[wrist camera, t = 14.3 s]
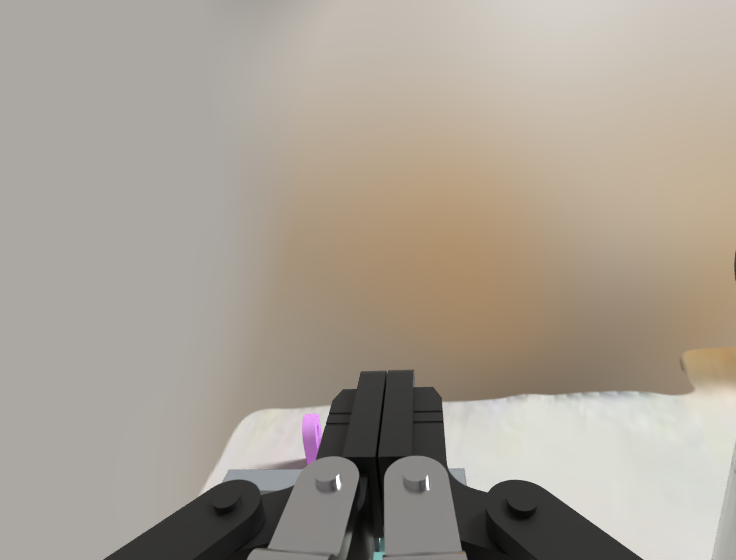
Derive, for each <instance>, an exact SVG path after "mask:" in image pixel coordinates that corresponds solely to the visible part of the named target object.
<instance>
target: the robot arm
mask: <svg viewBox="0 0 736 560" xmlns="http://www.w3.org/2000/svg"><path fill="white" fill-rule="evenodd" d="M734 264H735V265H734V267H735V279H736V253H735V263H734ZM384 534H385V555H383V557H382V560H643V559H642V558H640V557H639V556H638V555H636V554H635V553H633V552H632V551H631V550H629V549H628V548H626V547H625V546H624V545H622V544H621V543H619V542H618V541H617V540H615V539H614V538H612V537H611V536H610V535H608V534H607V533H605V532H604V531H603V530H601V529H600V528H598V527H597V526H596V525H594V524H593V523H591V522H590V521H589V520H587V519H586V518H584V517H583V516H582V515H580V514H579V513H577V512H576V511H575V510H573V509H572V508H570V507H569V506H568V505H566V504H565V503H564V502H562V501H561V500H559V499H558V498H557V497H555V496H554V495H552V494H551V493H550V492H548V491H547V490H545V489H544V488H542V487H541V486H539V485H536V484H534V483H531V482H528V481H523V480H508V481H503V482H500V483H498V484H496V485H495V486H493V487H492V488H491V489H490V490H489V492H488V493H487V492H483V491H480V490H476V489H473V488H470V487H468V486H466V485H464V484H462V483H460V482H459V481H458V480H457V479H455V478H454V477H453V475H452V474H451V473H450V471H449V469H448V467H447V461H446V448H445V435H444V423H443V410H442V398H441V396H440V395H439V394H438V393H437V392H436V390H435V389H434V387H415V378H414V370H389V371H388V375H387V371H362V372H361V373H360V378H359V382H358V387H357V389H345V390H342V391H341V392H340V393H339V394H338V396H336V398H335V399H334V400H333V401H332V405H331V408H330V411H329V415H328V418H327V422H326V426H325V429H324V432H323V436H322V439H321V442H320V446H319V449H318V453H317V456H316V460H315V461H313V462H311V463H310V464H308V465H307V466H306V467H305V468H304V469H303V470H302V471H301V472H300V474H299V476H298V478H297V481H296V483H295V485H293V486H291V487H288V488H285V489H282V490H279V491H275V492H271V493H267V494H263V495H261V494H260V490H259V488H258V487H257V485H256V484H254V483H253V482H251V481H248V480H241V479H237V480H230V481H226V482H223V483H221V484H218V485H216V486H215V487H213V488H211V489H210V490H208V491H207V492H205V493H204V494H202V495H201V496H199V497H198V498H196V499H195V500H193V501H192V502H190V503H189V504H187V505H186V506H184V507H182V508H181V509H180V510H178V511H176V512H175V513H173V514H172V515H170V516H169V517H167V518H166V519H164V520H163V521H161V522H160V523H158V524H157V525H155V526H154V527H152V528H151V529H149V530H148V531H146V532H145V533H143V534H142V535H140V536H138V537H137V538H136V539H134V540H133V541H131V542H130V543H128V544H126V545H125V546H123V547H122V548H120V549H119V550H117V551H116V552H114V553H113V554H111V555H110V556H108V557H107V558H105V559H104V560H370V557H371V551H372V542H373V538H384ZM711 560H736V442H735V447H734V452H733V457H732V462H731V467H730V472H729V477H728V482H727V487H726V491H725V496H724V501H723V506H722V511H721V516H720V520H719V525H718V530H717V535H716V540H715V545H714V549H713V554H712V559H711Z"/></svg>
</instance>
